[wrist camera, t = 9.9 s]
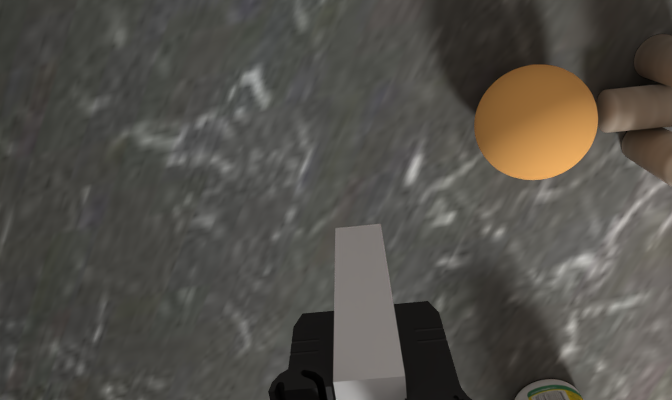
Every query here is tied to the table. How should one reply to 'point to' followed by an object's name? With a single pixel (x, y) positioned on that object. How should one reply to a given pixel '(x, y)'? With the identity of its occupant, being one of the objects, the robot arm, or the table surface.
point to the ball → (536, 122)
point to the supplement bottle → (549, 391)
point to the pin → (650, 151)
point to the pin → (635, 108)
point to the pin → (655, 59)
